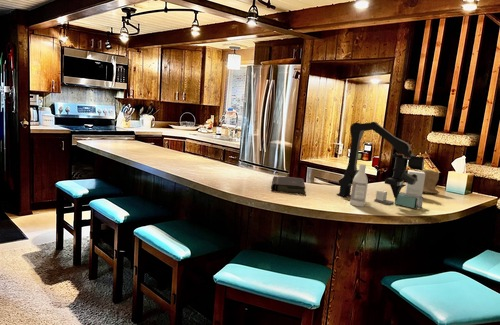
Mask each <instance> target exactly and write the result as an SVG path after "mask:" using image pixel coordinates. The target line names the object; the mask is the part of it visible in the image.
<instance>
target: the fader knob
mask: <svg viewBox="0 0 500 325" xmlns="http://www.w3.org/2000/svg"><path fill="white" fill-rule="evenodd" d="M387 196H388V191H385V190H382V189H380V190H376V194H375V199H377V200H381V201H384V200H387Z"/></svg>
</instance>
